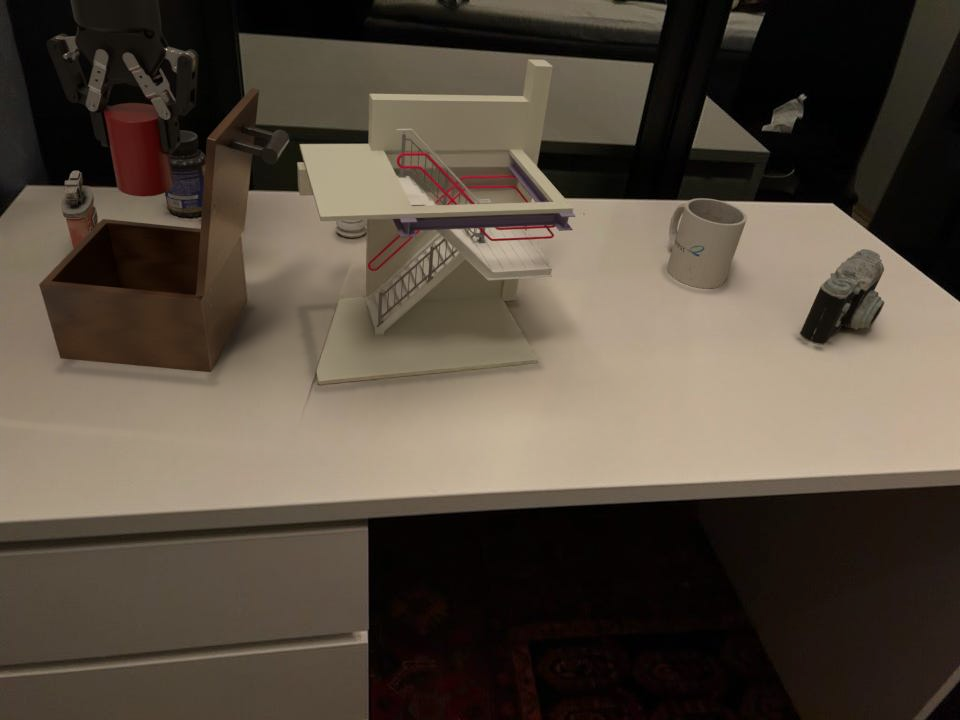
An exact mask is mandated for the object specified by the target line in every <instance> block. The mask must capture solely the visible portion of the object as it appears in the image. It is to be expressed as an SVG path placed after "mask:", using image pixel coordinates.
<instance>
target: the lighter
mask: <svg viewBox="0 0 960 720" xmlns="http://www.w3.org/2000/svg"><path fill="white" fill-rule="evenodd" d="M83 182H84V178H83V173H82V172H80V170H73V171H71V173H70V174H69V178H68V179H67V180H64V195H63V197H62V199H61V204H60V207H61V212H62V216H63V218H65V220H66V224H67V225H66V226H67V228H68V233H69V237H70V241H71V245H72V248H73V249H74V248H75V247H76V246H77V245H78V244H79V243H80V242H81V241H82V240H83V239H84V238H85V237H86V236H87V235H88V234H89V233H90V231H91V230H92V229H93V228H94V227H95V226H96V225H97V224H98V223H99V220H98V219H99V217H98V212H97V208H96V207H95V205H94V201H95V197H94V193H93V188H92V187H91V186H89V185H83ZM73 249H72V250H73Z"/></svg>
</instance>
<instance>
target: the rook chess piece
mask: <svg viewBox="0 0 960 720" xmlns="http://www.w3.org/2000/svg"><path fill="white" fill-rule="evenodd" d="M335 225H336V226H335V232H336V233H337V234H338V235H339V236H341V237H343V238H346V239H357V238H361V237H362V236H364V235H365V234H366V233H367V227H366V226H367V221H366V220H342V221H335Z"/></svg>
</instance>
